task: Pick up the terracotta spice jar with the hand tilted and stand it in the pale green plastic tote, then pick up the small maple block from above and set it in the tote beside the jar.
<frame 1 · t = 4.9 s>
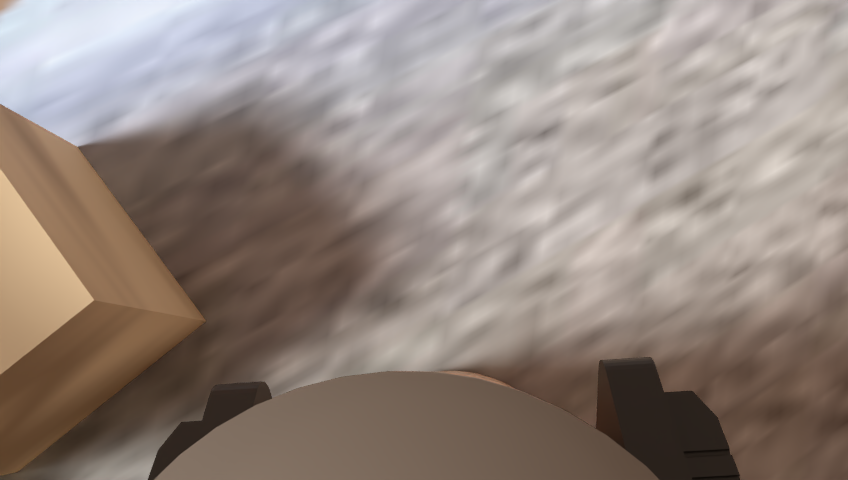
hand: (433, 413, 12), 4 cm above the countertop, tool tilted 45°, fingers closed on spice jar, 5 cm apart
maple block: (50, 304, 17), on the countertop
when the fingers open (6 cm above the countertop, at t = 10.3 s): spice jar drops 2 cm, resting on tote.
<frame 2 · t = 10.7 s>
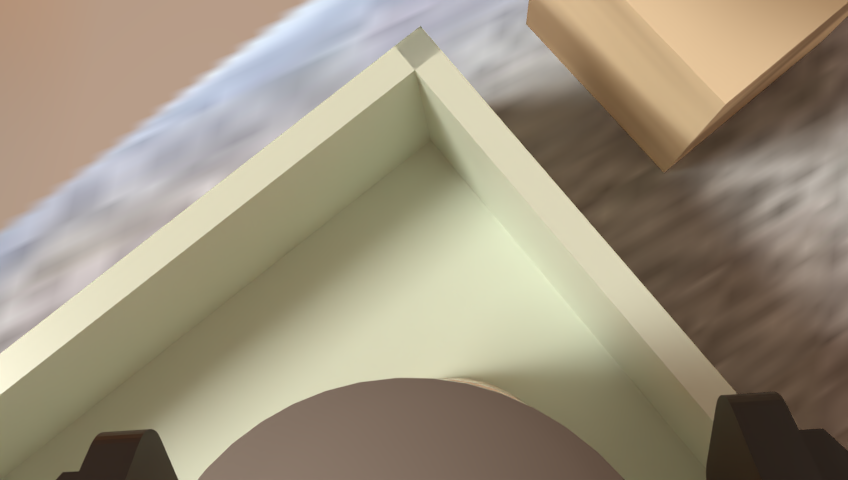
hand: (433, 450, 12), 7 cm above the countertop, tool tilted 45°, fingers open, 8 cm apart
maple block: (670, 34, 20), on the countertop
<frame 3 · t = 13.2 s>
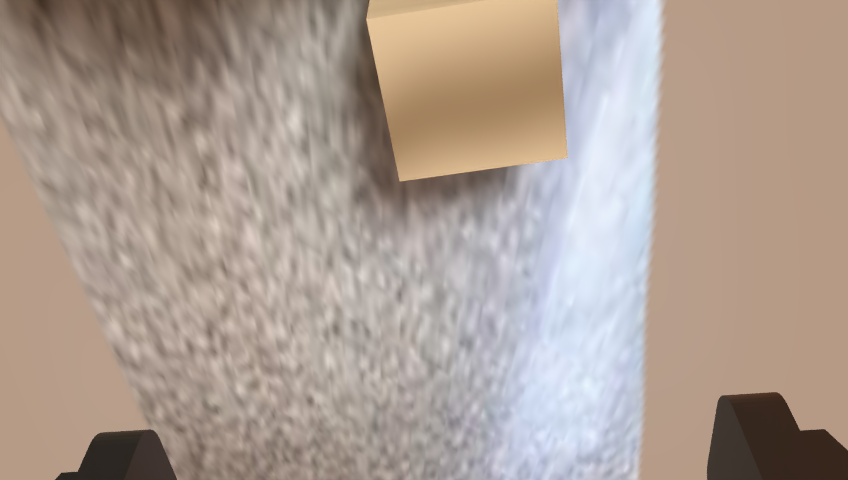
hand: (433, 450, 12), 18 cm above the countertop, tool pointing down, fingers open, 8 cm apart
maple block: (464, 29, 26), on the countertop
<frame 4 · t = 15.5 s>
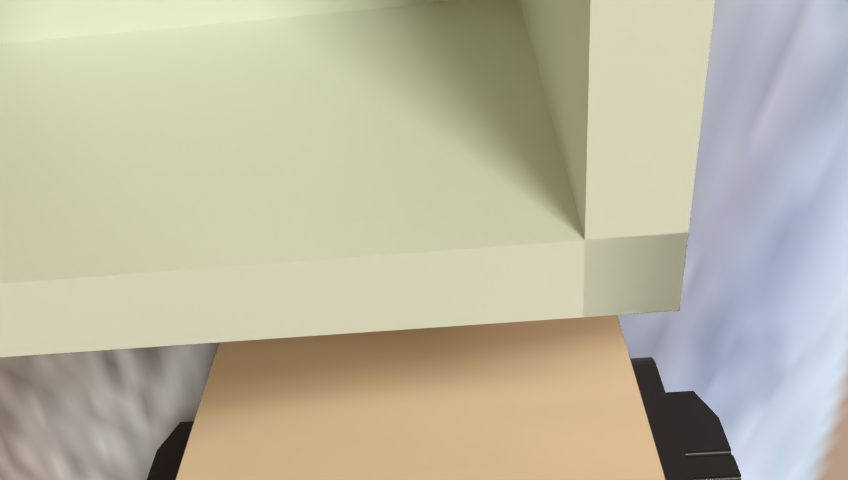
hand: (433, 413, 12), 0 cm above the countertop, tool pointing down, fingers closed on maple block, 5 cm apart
maple block: (435, 387, 13), on the countertop, touching gripper
when the fingers open (4 cm above the countertop, at t = 21.2 s): maple block drops 3 cm, resting on tote.
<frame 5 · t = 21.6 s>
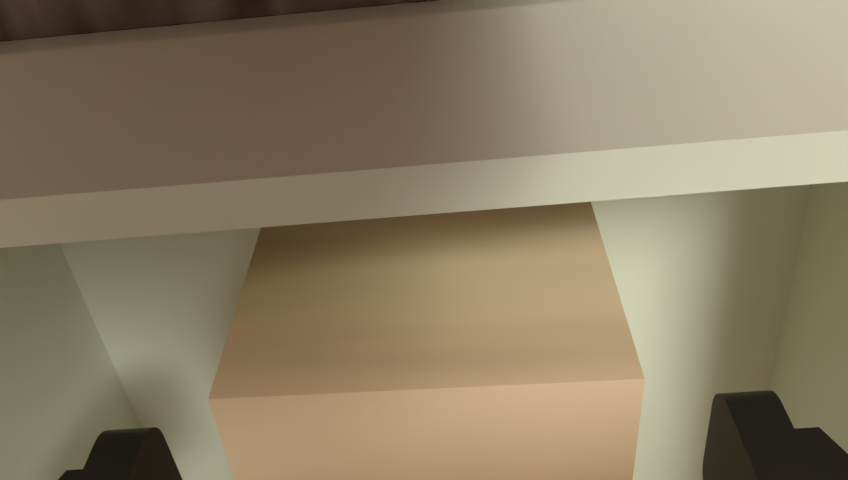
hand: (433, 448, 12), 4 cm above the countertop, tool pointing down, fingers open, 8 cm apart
tote: (447, 396, 17), on the countertop
maple block: (435, 286, 15), point 1 cm above the countertop, touching tote
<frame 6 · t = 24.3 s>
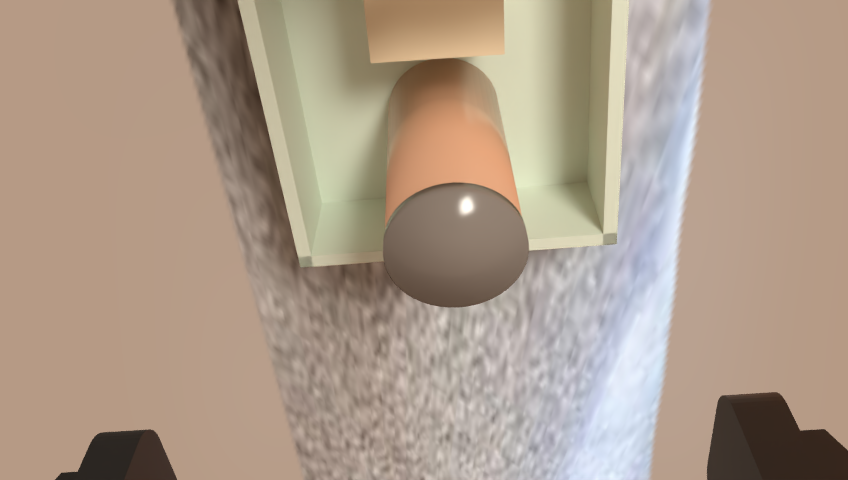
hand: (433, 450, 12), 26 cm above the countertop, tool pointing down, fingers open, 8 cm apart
tote: (438, 30, 35), on the countertop
spice jar: (443, 109, 36), point 1 cm above the countertop, touching tote
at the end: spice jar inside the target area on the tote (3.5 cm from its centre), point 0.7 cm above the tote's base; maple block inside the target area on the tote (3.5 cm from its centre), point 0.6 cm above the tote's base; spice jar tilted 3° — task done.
